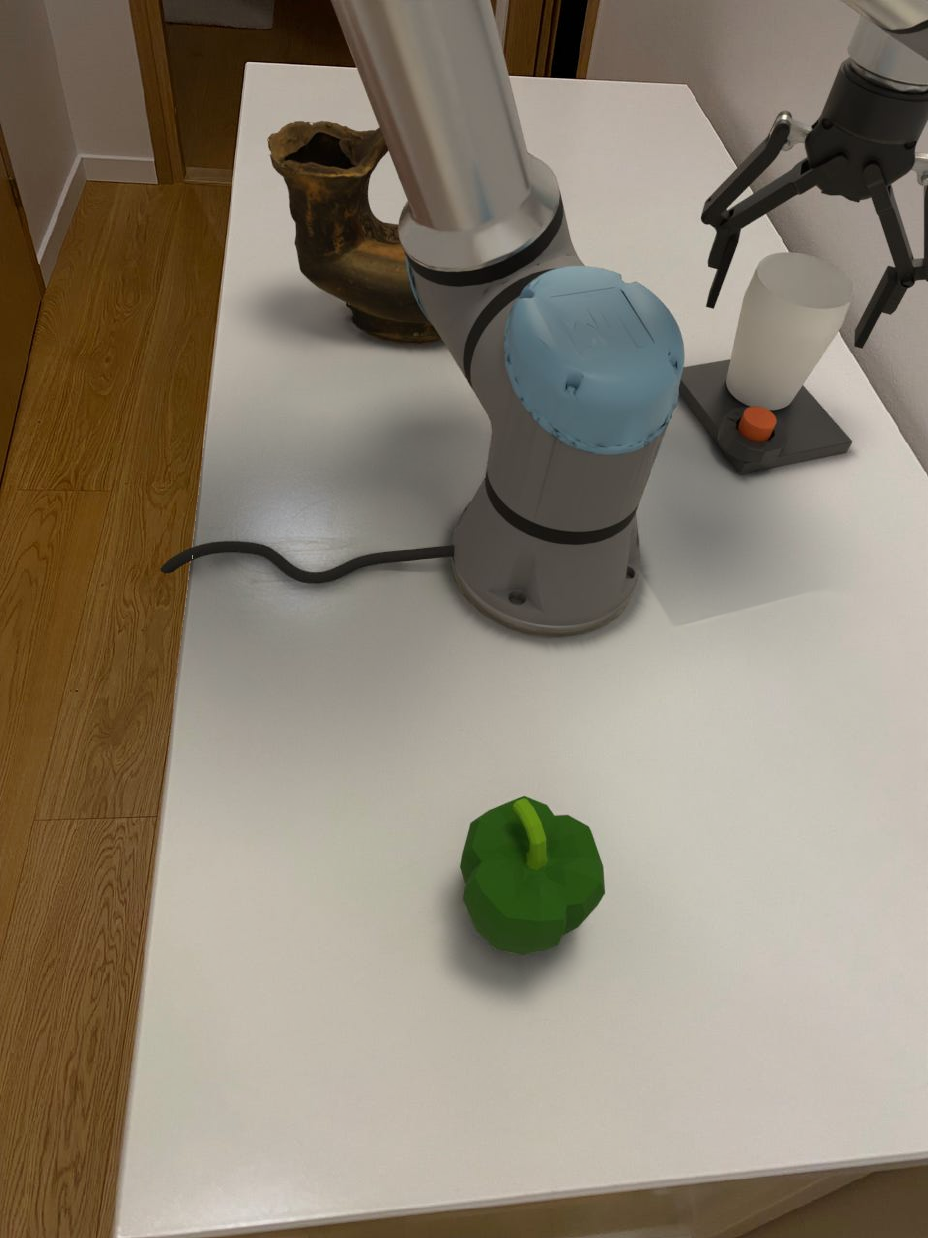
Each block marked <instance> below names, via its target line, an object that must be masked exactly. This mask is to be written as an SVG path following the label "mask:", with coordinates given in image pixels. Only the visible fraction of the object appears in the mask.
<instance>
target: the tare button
mask: <svg viewBox="0 0 928 1238" xmlns="http://www.w3.org/2000/svg"><path fill="white" fill-rule="evenodd" d="M776 422H777V420H776V417H775V415H774V414H773V413H772V412H771V411H769V410H767V409H765V408H762V407H749V408H747V409H746V410H745V411H744V413H743V416H742V418H741V420H740V423H739V425H738V432H739V433H740V434H741V435H742V436H743V437H745V438H747V439H749V440H751V441H756V442H765V441H767V440H768V439H769V438H770V436H771V434H772V431H773V429H774V427H775V425H776Z"/></svg>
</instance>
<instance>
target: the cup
mask: <svg viewBox="0 0 928 1238" xmlns="http://www.w3.org/2000/svg"><path fill="white" fill-rule="evenodd" d="M855 289H856V288H855V285H854V283H853V281H852V279H851V278H850V276H848V275H847V273H845V272H844V271H843V270H842V269H841V268H839V267H837V266H836V265H835V264H833V263H831V262H829V261H827V260H825V259H823V258H820V257H817V256H814V255H811V254H806V253H802V252H801V253H800V252H791V251H785V252H782V251H781V252H776V253H771V254H769V255H767V256H765V257H762V259H761V260H759V262H758V263H757V266H756V268H755V271H754V273H753V275H752V277H751V279H750V281H749V284H748V286H747V288H746V289H745V291H744V295H743V299H742V303H741V309H740V312H739V317H738V321H737V326H736V331H735V336H734V340H733V346H732V350H731V354H730V364H729V368H728V373H727V378H726V385H727V388H728V390H729V392H730V393H731V394H732V395H733V396H734V397H735V398H736V399H737V400H739V401H740V402H742V403H743V404H745V405H747V406H750V407H762V408H765V409H767V410H778V409H782V408H784V407H786V406H788V405H789V404H790V403H791V402H792V400H793V399H794V397H795V396H796V394H797V393H798V391H799V390H800V388H801V387H802V385H803V386H804V384H805V382H806V381H807V379H808V378H809V377H810V375H811V374H812V372H813V371H814V369H815V367H816V366H817V365H818V363H819V362H820V360H821V358H822V357H823V356H824V354H825V353H826V352H827V350H828V349H829V347H830V345H831V344H832V343H833V341H834V339H835V338H836V336H837V334H838V333H839V332H840V331H841V328H842V327H843V325H844V322H845V318H846V316H847V313H848V311H849V309H850V306H851V303H852V302H853V298H854V296H855V291H856V290H855Z"/></svg>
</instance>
